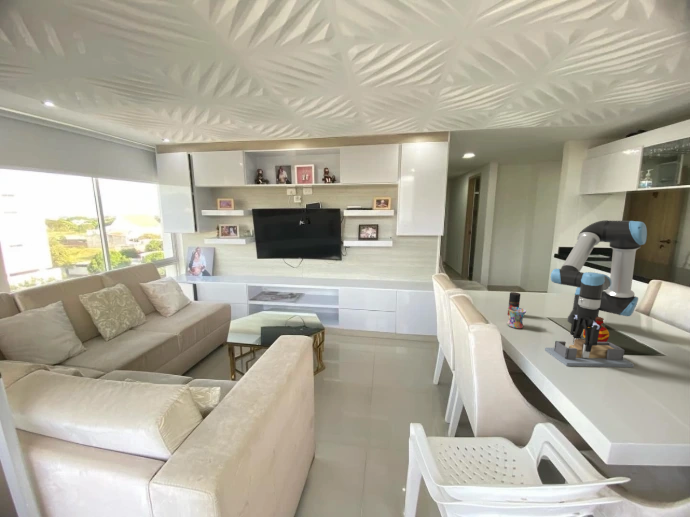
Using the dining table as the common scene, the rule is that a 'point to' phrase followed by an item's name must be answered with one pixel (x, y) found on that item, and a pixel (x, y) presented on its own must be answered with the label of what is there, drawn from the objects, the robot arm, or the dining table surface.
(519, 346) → the dining table surface
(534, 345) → the dining table surface
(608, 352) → the grey slat holder base
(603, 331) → the potion bottle
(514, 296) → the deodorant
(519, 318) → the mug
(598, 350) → the tan stepped wooden block
